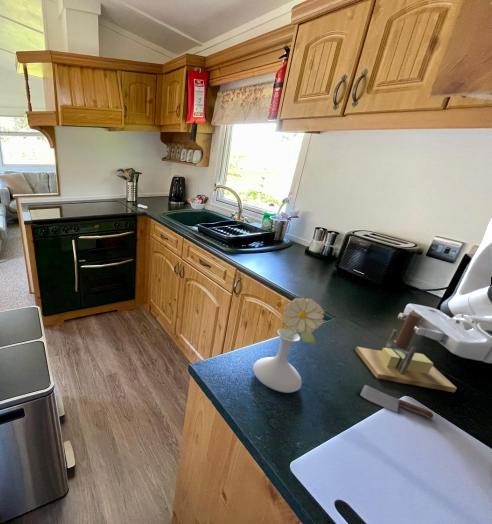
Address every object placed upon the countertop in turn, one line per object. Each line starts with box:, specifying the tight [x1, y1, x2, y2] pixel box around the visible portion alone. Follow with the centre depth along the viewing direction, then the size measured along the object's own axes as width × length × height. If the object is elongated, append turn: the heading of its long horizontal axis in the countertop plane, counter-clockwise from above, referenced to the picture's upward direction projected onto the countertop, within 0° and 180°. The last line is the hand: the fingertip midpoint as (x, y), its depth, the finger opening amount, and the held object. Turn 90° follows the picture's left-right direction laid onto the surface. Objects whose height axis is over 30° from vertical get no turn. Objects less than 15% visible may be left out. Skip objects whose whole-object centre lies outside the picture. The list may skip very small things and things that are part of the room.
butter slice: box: [379, 347, 400, 368], centre depth 80 cm, size 2×4×4 cm, turn 168°
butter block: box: [407, 351, 434, 374], centre depth 79 cm, size 7×4×4 cm, turn 78°
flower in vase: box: [252, 297, 325, 394], centre depth 68 cm, size 13×11×25 cm
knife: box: [390, 312, 422, 371], centre depth 78 cm, size 3×6×16 cm, turn 168°
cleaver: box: [359, 384, 434, 419], centre depth 68 cm, size 13×2×5 cm
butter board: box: [355, 328, 458, 393], centre depth 79 cm, size 18×12×10 cm, turn 78°
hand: (407, 323), depth 76 cm, fingers open, 5 cm apart
